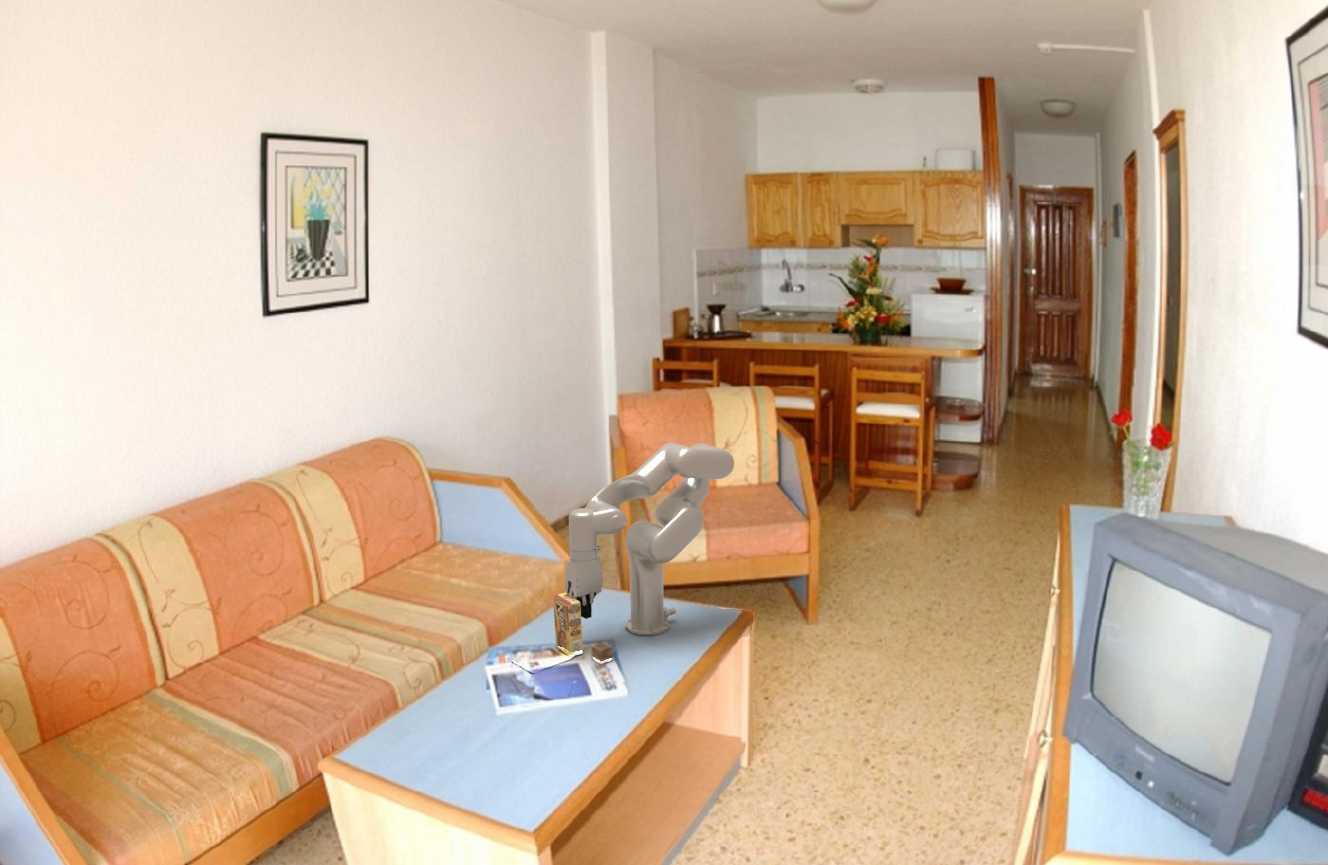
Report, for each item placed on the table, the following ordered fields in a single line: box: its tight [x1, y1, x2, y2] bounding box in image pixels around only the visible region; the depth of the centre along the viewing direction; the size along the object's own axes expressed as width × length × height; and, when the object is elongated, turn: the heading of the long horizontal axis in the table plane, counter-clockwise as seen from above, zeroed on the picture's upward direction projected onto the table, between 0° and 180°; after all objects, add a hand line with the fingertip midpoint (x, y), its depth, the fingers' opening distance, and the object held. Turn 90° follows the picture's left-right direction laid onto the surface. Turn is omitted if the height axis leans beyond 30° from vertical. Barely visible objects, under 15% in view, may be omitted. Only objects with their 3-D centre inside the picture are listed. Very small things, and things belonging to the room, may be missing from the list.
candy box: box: [552, 592, 584, 652], centre depth 276 cm, size 9×4×15 cm, turn 34°
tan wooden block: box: [591, 641, 614, 661], centre depth 271 cm, size 4×4×4 cm
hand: (585, 616), depth 279 cm, fingers closed
